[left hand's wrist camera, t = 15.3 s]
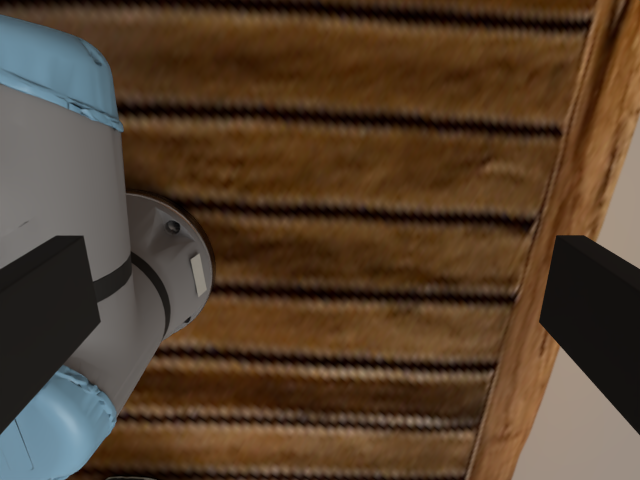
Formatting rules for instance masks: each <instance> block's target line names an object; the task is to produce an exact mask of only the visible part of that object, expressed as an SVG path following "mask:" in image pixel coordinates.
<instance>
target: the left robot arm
mask: <svg viewBox="0 0 640 480" xmlns="http://www.w3.org/2000/svg"><path fill="white" fill-rule="evenodd" d="M121 132H123V125H122V123H121V122H120V121H119V117H118V112H117V106H116V99H115V92H114V85H113V78H112V73H111V69H110V66H109V64H108V62H107V61H106V59H105V58H104V56H103V55H102V54H101V53H100V51H99V50H97V49H96V48H95V47H94V46H92V45H91V44H90V43H88V42H87V41H85V40H83V39H81V38H79V37H76V36H74V35H71V34H68V33H65V32H62V31H59V30H56V29H52V28H49V27H46V26H43V25H39V24H35V23H31V22H27V21H24V20H20V19H16V18H12V17H9V16H5V15H1V14H0V480H65V479H66V478H68V476H69V475H71V474H73V473H74V472H77V471H78V470H79V469H80V468H82V466H83V465H84V464H85V463H86V462H87V461H88V460H89V459H90V457H91V456H92V455H93V453H94V452H95V451H96V449H97V448H98V447H99V445H100V444H101V443H102V442H103V440H104V439H105V438H106V437H107V436H108V435H109V434H110V433H111V431H112V429H113V428H114V426H115V423H116V421H117V420H116V418H117V416H118V415H119V413H120V411H121V410H122V408H123V406H124V405H125V403H126V401H127V399H128V398H129V396H130V394H131V393H132V391H133V389H134V387H135V386H136V384H137V382H138V381H139V379H140V377H141V376H142V374H143V372H144V370H145V369H146V367H147V365H148V364H149V362H150V360H151V359H152V357H153V355H154V353H155V352H156V350H157V348H158V347H159V345H160V343H161V342H162V341H163V340H164V339H166V338H168V337H169V336H171V335H172V334H173V333H175V332H177V331H179V330H180V329H182V328H183V327H185V326H186V325H188V324H189V323H190V322H191V321H193V320H194V319H195V318H196V317H197V316H198V314H199V313H200V312H201V310H202V309H203V307H204V305H205V304H206V302H207V300H208V298H209V296H210V294H211V291H212V289H213V285H214V281H215V273H216V265H215V257H214V253H213V249H212V246H211V244H210V241H209V239H208V237H207V235H206V234H205V232H204V230H203V229H202V227H201V226H200V225H199V223H198V222H197V221H196V220H195V219H194V218H193V217H192V216H191V215H190V214H189V213H188V212H187V211H186V210H184V209H183V208H182V207H180V206H179V205H177V204H176V203H174V202H173V201H171V200H169V199H167V198H165V197H162V196H160V195H157V194H154V193H151V192H147V191H142V190H132V189H125V179H124V166H123V154H122V141H121ZM539 323H540V324H541V325H542V326H543V327H544V328H545V329H546V330H547V331H548V333H549V334H550V335H551V336H552V337H553V338H554V339H555V340H556V342H557V343H558V344H559V345H560V346H561V347H562V348H563V349H564V351H565V352H566V353H567V354H568V355H569V356H570V357H571V358H572V359H573V361H574V362H575V363H576V364H577V365H578V366H579V367H580V369H581V370H582V371H583V372H584V373H585V374H586V375H587V376H588V378H589V379H590V380H591V381H592V382H593V383H594V384H595V385H596V386H597V388H598V389H599V390H600V391H601V392H602V393H603V394H604V396H605V397H606V398H607V399H608V400H609V401H610V402H611V403H612V405H613V406H614V407H615V408H616V409H617V410H618V411H619V412H620V413H621V415H622V416H623V417H624V418H625V419H626V420H627V421H628V422H629V424H630V425H631V426H632V427H633V428H634V429H635V430H636V431H637V432H638V434H639V435H640V269H639V268H637V267H635V266H634V265H632V264H630V263H629V262H627V261H625V260H624V259H622V258H621V257H619V256H617V255H616V254H614V253H612V252H611V251H609V250H607V249H606V248H604V247H602V246H601V245H599V244H597V243H596V242H594V241H592V240H591V239H589V238H587V237H586V236H584V235H556V240H555V245H554V250H553V255H552V260H551V265H550V270H549V275H548V280H547V285H546V290H545V295H544V300H543V305H542V310H541V315H540V320H539Z"/></svg>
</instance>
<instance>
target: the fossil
mask: <svg viewBox="0 0 640 480" xmlns="http://www.w3.org/2000/svg"><path fill="white" fill-rule="evenodd" d="M106 480H155V479H151V478H144V477H122V476H120V477H109V478H107V479H106Z"/></svg>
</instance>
